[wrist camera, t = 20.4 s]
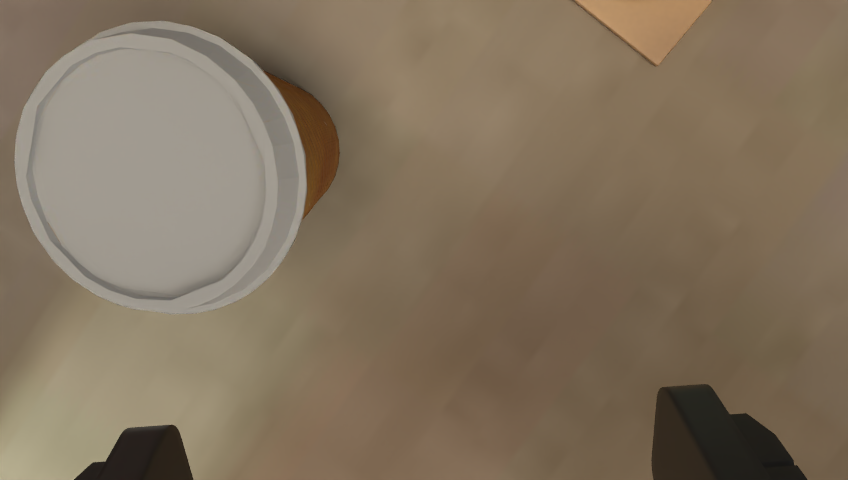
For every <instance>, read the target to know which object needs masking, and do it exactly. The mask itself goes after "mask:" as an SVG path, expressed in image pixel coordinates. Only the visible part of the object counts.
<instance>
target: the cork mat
mask: <svg viewBox="0 0 848 480" xmlns="http://www.w3.org/2000/svg"><path fill="white" fill-rule="evenodd" d="M573 1H574V2H576V3H577V4H578V5H579V6H581V7H582V8H583V9H584V10H586V11H587V12H588V13H589V14H591V15H592V16H593V17H594V18H596V19H597V20H598V21H599V22H601V23H602V24H603V25H604V26H606V27H607V28H608V29H609V30H611V31H612V32H613V33H614V34H616V35H617V36H618V37H619V38H621V39H622V40H623V41H624V42H626V43H627V44H628V45H629V46H631V47H632V48H633V49H634V50H636V51H637V52H638V53H639V54H641V55H642V56H643V57H644V58H646V59H647V60H648V61H649V62H651V63H652V64H653V65H654V66H658V65H659V64H660V63H661V62H662V61H663V59H664V58H665V57H666V56H667V55H668V53H669V52H670V51H671V50H672V49H673V47H674V46H675V45H676V44H677V43H678V41H679V40H680V39H681V38H682V37H683V35H684V34H685V33H686V32H687V31H688V29H689V28H690V27H691V26H692V25H693V23H694V22H695V21H696V20H697V19H698V17H699V16H700V15H701V14H702V13H703V11H704V10H705V9H706V8H707V7H708V5H709V4H710V3H711V2H712V1H713V0H573Z"/></svg>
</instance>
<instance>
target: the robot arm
mask: <svg viewBox="0 0 848 480" xmlns="http://www.w3.org/2000/svg"><path fill="white" fill-rule="evenodd" d="M652 473H653V479H654V480H807V478H806V477H805V476H804V474H803V473H802V471H801V470H800V469H799V467H798V466H797V465H796V466H795V465H794V462H793V459H792V457H791V456H790V455H789V453H788V452H787V451H786V449H785V448H784V446H783V445H782V444H781V442H780V441H779V439H778V438H777V437H776V435H775V434H774V433H772V432H771V431H770V430H768V429H767V428H766V427H764V426H763V425H761V424H760V423H759V422H757V421H756V420H755V419H753V418H752V417H751V416H749V415H748V414H746V413H745V414H731V415H730V414H729V413H728V411H727V410H726V408H725V407H724V405H723V404H722V402H721V401H720V399H719V398H718V396H717V395H716V393H715V391H714V390H713V389H712V388H711V387H710V386H709V385H707V384H701V385H687V386H673V387H662V388H660V389H659V391H658V395H657V403H656V414H655V425H654V437H653V448H652ZM74 480H193V477H192V473H191V470H190V466H189V463H188V459H187V456H186V452H185V449H184V446H183V442H182V439H181V435H180V433H179V430H178V429H177V427H176V426H174V425H162V426H148V427H135V428H127V429H126V430H124V431H123V432H122V434H121V435H120V437H119V439H118V440H117V442H116V444H115V446H114V448H113V449H112V451H111V453H110V455H109V457H108V458H107V460H106V462H94V463H92V464H91V465H89V466H88V467H87V468H86V469H85V470H84V471H83V472H82V473H81V474H80V475H79V476H77V477H76V478H75V479H74Z"/></svg>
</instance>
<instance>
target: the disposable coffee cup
mask: <svg viewBox="0 0 848 480" xmlns="http://www.w3.org/2000/svg"><path fill="white" fill-rule="evenodd" d="M339 154H340V152H339V140H338V136H337V132H336V128H335V126H334V124H333V122H332V120H331V117H330V115H329V114H328V113H327V111H326V110H325V108H324V107H323V106H322V104H321V103H320V102H318V101H317V100H316V99H315V98H314V97H313V96H312V95H311V94H309V93H307V92H305V91H304V90H302V89H300V88H298V87H296V86H294V85H292V84H290V83H288V82H285V81H284V80H281V79H279V78H277V77H275V76H274V75H271V74H269V73H267V72H265V71H263V70H262V69H261V68H260V67H259V66H258V65H257V63H256V62H254V61H253V60H252V59H250V58H249V57H247V56H246V55H245V54H243V53H242V52H241V51H239V50H238V49H236V48H235V47H234V46H232V45H231V44H229V43H228V42H227V41H225V40H224V39H222V38H220V37H218V36H215V35H213V34H210V33H208V32H205V31H203V30H200V29H198V28H195V27H192V26H188V25H183V24H178V23H172V22H167V21H149V22H131V23H128V24H124V25H121V26H118V27H114V28H111V29H108V30H104V31H101V32H100V33H98V34H97V35H95V36H93V37H92V38H90V39H89V40H87V41H85V42H84V43H82V44H81V45H79V46H77V47H76V48H75V49H74V50H73V51H71V52H69V53H67V54H65V55H64V56H63V57H62V58H61V59H59V60H58V61H57V62H56V63H55V64H54V65H53V66H52V67H51V68H49V69H48V70H47V71H46V72H45V74H44V75H43V77H42V78H41V80H40V81H39V83H38V84H37V86H36V87H35V88H34V90H33V92H32V94H31V95H30V97H29V99H28V101H27V103H26V105H25V106H24V108H23V112H22V116H21V120H20V123H19V127H18V131H17V134H16V145H15V161H14V163H15V173H16V182H17V188H18V191H19V195H20V199H21V203H22V206H23V209H24V211H25V213H26V216H27V218H28V221H29V223H30V225H31V228H32V230H33V232H34V234H35V236H36V237H37V238H38V240H39V241H40V243H41V244H42V245H43V247H44V248H45V250H46V251H47V252H48V254H49V255H50V257H51V258H52V260H53V261H54V262H55V263H56V264H57V265H58V266H59V267H60V268H61V269H62V270H63V271H64V272H65V273H66V274H67V275H68V276H70V277H71V278H72V279H73V280H74V281H76V282H77V283H79V284H80V285H82V286H83V287H85V288H86V289H88V290H89V291H91V292H92V293H94V294H95V295H97V296H99V297H101V298H103V299H106V300H108V301H110V302H113V303H115V304H117V305H121V306H124V307H128V308H131V309H136V310H145V311H155V312H160V313H166V314H193V313H201V312H206V311H211V310H216V309H218V308H221V307H223V306H226V305H228V304H231V303H234V302H236V301H238V300H240V299H241V298H243V297H244V296H246V295H248V294H249V293H251V292H252V291H254V290H255V289H256V288H257V287H258V286H260V285H261V284H262V283H263V282H264V281H266V280H267V279H268V278H269V277H270V276H271V274H272V273H273V272H274V271H275V270H276V268H277V267H278V266H279V265H280V264H281V262H282V261H283V259H284V257H285V256H286V254H287V253H288V251H289V249H290V248H291V246H292V244H293V243H294V241H295V238H296V235H297V232H298V229H299V227H300V224H301V221H302V220H303V219H304V217H305V216H306V215H307V214H308V213H309V211H310V210H311V209H312V208H313V206H314V205H315V204H316V203H317V201H318V200H319V199H320V198H321V197H322V196H323V194H324V193H325V192H326V191H327V190H328V188H329V186H330V185H331V183H332V181H333V179H334V177H335V174H336V170H337V167H338V163H339Z"/></svg>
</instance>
